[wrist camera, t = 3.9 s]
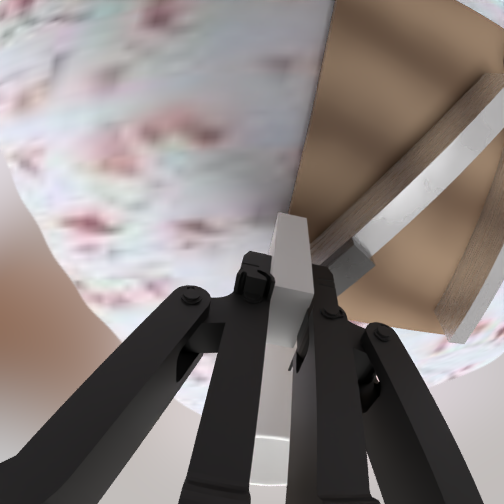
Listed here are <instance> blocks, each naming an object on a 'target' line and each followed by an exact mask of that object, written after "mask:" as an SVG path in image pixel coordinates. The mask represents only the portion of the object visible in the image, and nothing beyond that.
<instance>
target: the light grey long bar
mask: <svg viewBox="0 0 504 504" xmlns="http://www.w3.org/2000/svg"><path fill="white" fill-rule="evenodd" d="M503 128H504V74H497V73H484V75H483V76H482V77H481V78H480V79H479V80H478V81H477V82H476V83H475V84H474V85H473V86H472V87H471V88H470V89H469V90H468V91H467V92H466V93H465V94H464V95H463V96H462V98H461V99H460V100H459V101H458V102H457V103H456V104H455V105H454V106H453V107H452V108H451V109H450V110H449V111H448V112H447V113H446V114H445V115H444V116H443V117H442V118H441V119H440V120H439V121H438V122H437V123H436V124H435V125H434V126H433V127H432V128H431V129H430V130H429V131H428V132H427V133H426V134H425V135H424V136H423V137H422V138H421V139H420V140H419V141H418V142H417V143H416V144H415V145H414V146H413V147H412V148H411V149H410V150H409V151H408V152H407V153H406V154H405V155H404V156H403V157H402V158H401V159H400V160H399V161H398V162H397V163H396V164H395V165H394V166H393V167H392V168H391V169H390V170H388V171H387V172H386V173H385V174H384V175H383V176H382V177H381V178H380V179H379V180H378V181H377V182H376V183H375V184H374V185H373V186H372V187H371V188H370V189H369V190H368V191H367V192H366V193H365V194H364V195H362V196H361V197H360V198H359V199H358V200H357V201H356V202H355V203H354V204H353V205H352V206H351V207H350V208H349V209H348V210H347V211H346V212H344V213H343V214H342V215H341V216H340V217H339V218H338V219H337V220H336V221H335V222H334V223H333V224H332V225H331V226H330V227H328V228H327V229H326V230H325V231H324V232H323V233H322V234H321V235H320V236H319V237H318V238H317V239H315V240H314V241H313V242H312V243H311V244H310V254H311V263H312V264H316V265H321V266H325V267H328V268H329V270H330V271H331V272H332V274H333V278H334V283H335V289H336V294H337V297H338V296H339V295H340V294H342V293H343V292H344V291H345V290H346V289H348V288H349V287H350V286H351V285H353V284H354V283H355V282H356V281H358V280H359V279H360V278H361V277H362V276H364V275H365V274H366V273H367V272H368V271H370V270H371V269H372V268H373V267H374V266H375V263H374V260H373V258H372V256H373V255H374V254H375V253H376V252H377V251H378V250H379V249H381V248H382V247H383V246H384V245H385V244H386V243H387V242H389V241H390V240H391V239H392V238H393V237H394V236H395V235H396V234H397V233H399V232H400V231H401V230H402V229H403V228H404V227H405V226H406V225H407V224H408V223H410V222H411V221H412V220H413V219H414V218H415V217H416V216H417V215H418V214H419V213H420V212H421V211H422V210H424V209H425V208H426V207H427V206H428V205H429V204H430V203H431V202H432V201H433V200H434V199H435V198H436V197H437V196H438V195H439V194H440V193H441V192H442V191H443V190H444V189H445V188H446V187H447V186H448V185H449V184H450V183H451V182H452V181H454V180H455V179H456V178H457V177H458V176H459V174H460V173H461V172H462V171H463V170H464V169H465V168H466V167H467V166H468V165H469V164H470V163H471V162H472V161H473V160H474V159H475V158H476V157H477V156H478V155H479V154H480V153H481V152H482V151H483V150H484V149H485V148H486V147H487V145H488V144H489V143H490V142H491V141H492V140H493V139H494V138H495V137H496V136H497V135H498V133H499V132H500V131H501V130H502V129H503Z"/></svg>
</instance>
